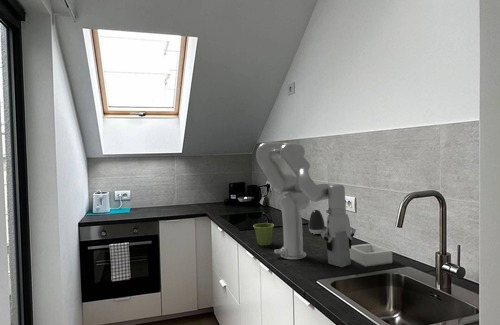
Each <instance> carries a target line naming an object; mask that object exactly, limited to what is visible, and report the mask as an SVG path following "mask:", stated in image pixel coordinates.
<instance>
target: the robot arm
mask: <svg viewBox="0 0 500 325" xmlns="http://www.w3.org/2000/svg"><path fill="white" fill-rule="evenodd" d="M305 152H306V151H305V148H304V146H303V145H301V144H300V143H297V142H296V143H294V142H291V143H290V142H281V141H280V142H279V141H276V142H274V141H272V142H271V141H270V142H269V141H267V142H262V143H261V144H260V145H259V146H258V147H257V149H256V152H255V155H256V156H255V158H256V162H257V163H258V166H259V167H260V168H261V171H262V172H263V174H264V175H265V177H266V178H267V181H268V182H269V183H270V185H271V187H272V189H273V190H274V191H275V193H277V194H284V195H283V196H282V197H281V199H280V205H279V206H280V210H281V215H282V234H283V235H282V236H283V246H281V248H279V249H274V251H273V252H274V254H279V255H280V257H281V258H283V259H286V260H300V259H304V258H306V257H307V253H306V252H305V251H304V243H303V241H304V239H303V219H302V215H301V211H302V210H305V209H307V208H308V207H309V205H310V201H311V202H315V203H316V202H320V201H321V202H322V201H325V200H328V203H327V205H328V209H327V210H326V214H328V215H327V219H326V228H325V229H324V231H322V232H321V234H320V235H321V237H322V239H323V240H324V241H325V243H326V251H327V250H329V251H332V243H331V242H330V241H331V240H332V238H336V232H341V231H346V233H347V236H348V239H349V249H351V246H352V240H353V238H354V236H355V234H356V232H357V229H356V228H354V227H351V222H350V218H349V215H348V214H347V212H346V211H347V208H346V189H345V188H346V187H345V185H343V184H335V183H334V184H330V183H329V184H328V183H319V184H318V183H317V184H316V182H314V180H313V179H312V178H311V176H310V173H309V170H310V168H311V164H310V162H309V161H308V159H306V158H305ZM274 159H283V160H284V162H285V163H286V164H287V165H288V166H289V168H290V169H291V171H293V173H294V174H295V175H294V174H292V173H287V174H286V173H284V171H283V170H282V169H281V167H280V165H279V164H278V163H277V162H276V161H274ZM328 232H329V234H330V235H329V234H328ZM326 233H327V235H328V236H327V237H326Z"/></svg>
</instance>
